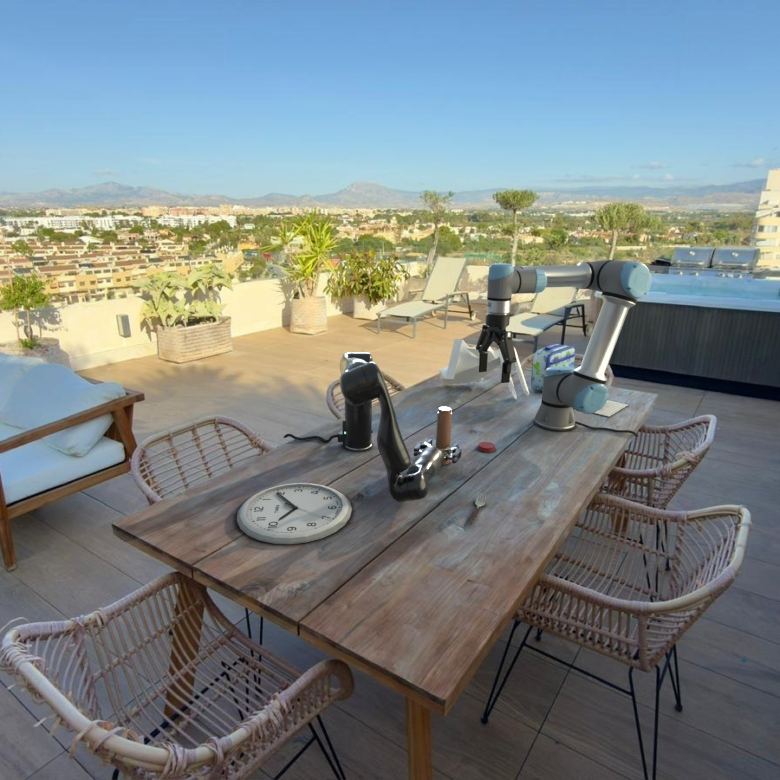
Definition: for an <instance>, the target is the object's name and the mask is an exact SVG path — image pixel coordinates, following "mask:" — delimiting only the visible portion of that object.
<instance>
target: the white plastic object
mask: <svg viewBox="0 0 780 780" xmlns="http://www.w3.org/2000/svg"><path fill="white" fill-rule="evenodd" d="M476 346H477V345H473V346H469V345H468V343H466V342H465V340H464V339H463V338H460V339H458V338H454V340H453V344H452V349H451V353H450V357H449V362H448V366H446V367H444V368H442V369H440V370H439V371H438V372H439V376H440V381H442V383H443V384H444V385H445V386H449V385H458V384H467V383H468V384H469V383H473V384H477V383H480V382H482V381H484V378H485V377H486V376H487V375H489V374H490V373H492V372H494V371H495V370H496V369H497V368H499V367H500V366H502V364H503V362H504V360H503V357H502V354H501V351H500V348H498V349H496V350H495V349H493V348H492V347H491V346H490V347H489V348H488V350H487V352H485V353H488V358H487V372H479V354H480V353H479V351H478V350H476ZM480 346H481V345H480ZM514 350H515V355H516V360H517V361H516V362H514V366H515V369H516V372H517V376H518V380H519V382H520V385H521V389H522V391H523V393H524V395H525V396H526V397H528V396H531V395H530V390H529V388H528V387H529V386H528V384H527V381H526V378H525V375H524V371H523V369H522V368H523V367H522V366H521V362H520V359H519V355H518V352H517V349H516V347H514ZM512 359H513V358H512ZM507 360H508V359H507ZM506 384H507V386H508V390H509V393H510V394H511V395H512V397H513V398H514V399H515V400H517V392H516V391H517V390H516V388H515V385H514V381H513V378H512V375H511V374H510V382H508V383H506Z"/></svg>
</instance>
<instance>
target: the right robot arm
mask: <svg viewBox="0 0 780 780" xmlns="http://www.w3.org/2000/svg"><path fill="white" fill-rule="evenodd" d="M487 276H488V277H487V292H486V293H487V294H486V296H487V297H486V308H485V309H486V312H487V313H486V314H485V324H482V326H481V332H480V335H479V337H478V340H477V343H476V345H475V346H476V350H478V351H479V353H480V354H479V372H487V358H488V353H485V352H487V350H488V348H489V347H491V345H492V344H493V342H494V343H495V344H496V345H497V346H498V349H500V351H501V354H502V357H503V360H504V362H503V364H502V363H501V378H500V379H501V380H500V383H501V384H507V383H508V382H510V375H511V373H512V364H513V363H514V362H516V361H517V360H516V355H515V350H514V348H515V345H514V340H513V331H512V330H509V331H507V327H508V326H510V317H511V315H510V314H509V313H511V310H512V309H511V307H512V295H516V294H519V295H520V294H539V293H543V292H544V291H545V289H546V288H570V287H571V288H574V287H575V288H577V289H578V290H589V291H591V290H592V291H596V292H600V293H601V295H600V296H601V299H602V301H603V302H602V305H601V307H600V311H599V313H598V317H597V319H596V323H595V325H594V328H593V330H592V333H591V336H590V339H589V341H588V344H587V346H586V350H585V351H584V355H583V357H582V361H581V363H580V366H578V367H577V368H576V367H575V366H574V367H565V366H556V367H549V368H547V369H546V370H545V374H544V381H543V391H541V392H542V394H541V402H540V405H539V407H538V410H537V411H536V413H535V417H534V424H535V425H536V426H537V427H539V428H542V429H544V430H549V431H556V432H567V431H572V430H574V429H575V428H576V425H579V426H581V427H584V428H586V429H589V430H596V431H597V430H598V431H608V432H611V433H619V434H625V433H629V434H632V435H633V436H634V437H638V438H639V437H640V435H638V433H637V432H635V431H634V430H630V429H615V428H610V427H603V426H590V425H588V424H586V423H582V422H581V421H580V422H579V421H576V418H575V417H576V416H575V413H574V410H576V411H577V412H580V413H583V414H587V415H590V414H591V415H593V414H596V413H595V412H597V411H598V410H600V409H601V408H602V407H603V406H604V405H605V404H606V402H607V400H609V396H610V395H609V390H608V388H607V387H606V384H607V381H608V379H607V377H606V371H607V368H608V366H609V363H610V360H611V357H612V355H613V353H614V349H615V347H616V344H617V342H618V338H619V336H620V333H621V331H622V328H623V327H624V323H625V321H626V318H627V316H628V313H629V310H630V309H631V308H633V307H634V306H636V304H637V301H638V299H641V298H644V297H645V295H647V294H648V293H649V291H650V289H651V286H652V280H653V279H652V274H651V273H650V269H649V268H648V266H647V265H646V264H644V263H642V262H639V261H638V262H637V261H633V260H619V259H617V260H616V259H602V260H601V259H600V260H594V261H580V262H579V263H578V264H567V265H566V264H565V265H564V264H563V265H561V264H560V265H519V266H518V265H517V266H515V265H513V264H512V263H504V262H501V263H500V262H499V263H498V262H497V263H491V264H490V265H489V268H488V275H487ZM480 345H481V346H480ZM512 358H513V359H512ZM507 359H508V360H507ZM514 364H515V363H514Z"/></svg>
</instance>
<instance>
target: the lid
mask: <svg viewBox="0 0 780 780" xmlns="http://www.w3.org/2000/svg"><path fill="white" fill-rule="evenodd" d="M477 449H478V451H480V452H483V453H493V452H495V451H496V445H495V444H494V443H493V442H490V441H480V442H478V444H477Z"/></svg>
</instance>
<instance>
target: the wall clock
mask: <svg viewBox="0 0 780 780" xmlns="http://www.w3.org/2000/svg"><path fill="white" fill-rule="evenodd" d="M352 511H353V508H352V505H351V501H350V500H349V499H348V497H346V495H345V494H344V493H342V492H340V491H338V490H336V489H335V488H332V487H329V486H327V485H324V484H318V483H310V482H295V483H285V484H280V485H275V486H271V487H270V488H266V489H263V490H261V491H259V492H258V493H257V492H256V493H255V494H254V495H252V496H250V497H249V498H248V499H247V500H245V502H243V503H242V504H241V505H240V507H239V509H238V511H237V515H236V523H237V525H238V528H239V530H241V531H242V532H243V533H244V534H246V535H247V536H249V537H250V538H252V539H255V540H257V541H260V542H263V543H264V542H265V543H267V544H268V543H269V544H274V545H296V544H297V545H298V544H305V543H309V542H314V541H318V540H321V539H323V538H326V537H328V536H330V535H332V534H335V533H336V532H337V531H339V530H340V529H342V528H343V527H344V526H345V525H346V524H347V523H348V521H349V520H350V519H351V516H352Z"/></svg>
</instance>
